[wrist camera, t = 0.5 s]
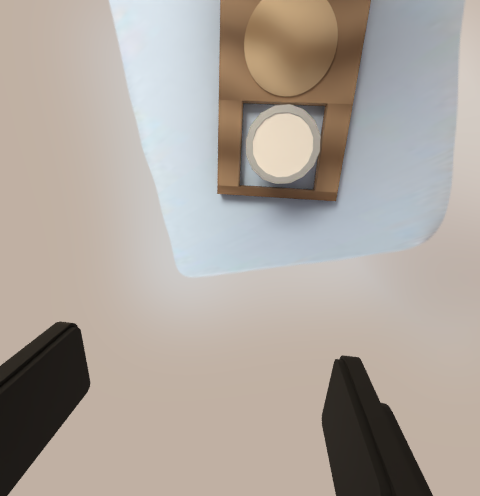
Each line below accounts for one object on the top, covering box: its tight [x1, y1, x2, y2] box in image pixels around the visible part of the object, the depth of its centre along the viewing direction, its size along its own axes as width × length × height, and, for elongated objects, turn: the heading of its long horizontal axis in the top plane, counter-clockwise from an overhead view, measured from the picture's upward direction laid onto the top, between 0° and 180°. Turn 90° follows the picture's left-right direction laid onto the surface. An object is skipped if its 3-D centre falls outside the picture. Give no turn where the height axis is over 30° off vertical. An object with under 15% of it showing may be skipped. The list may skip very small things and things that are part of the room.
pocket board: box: [217, 0, 371, 201], centre depth 28 cm, size 20×14×2 cm
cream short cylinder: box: [246, 104, 320, 184], centre depth 27 cm, size 7×7×7 cm
